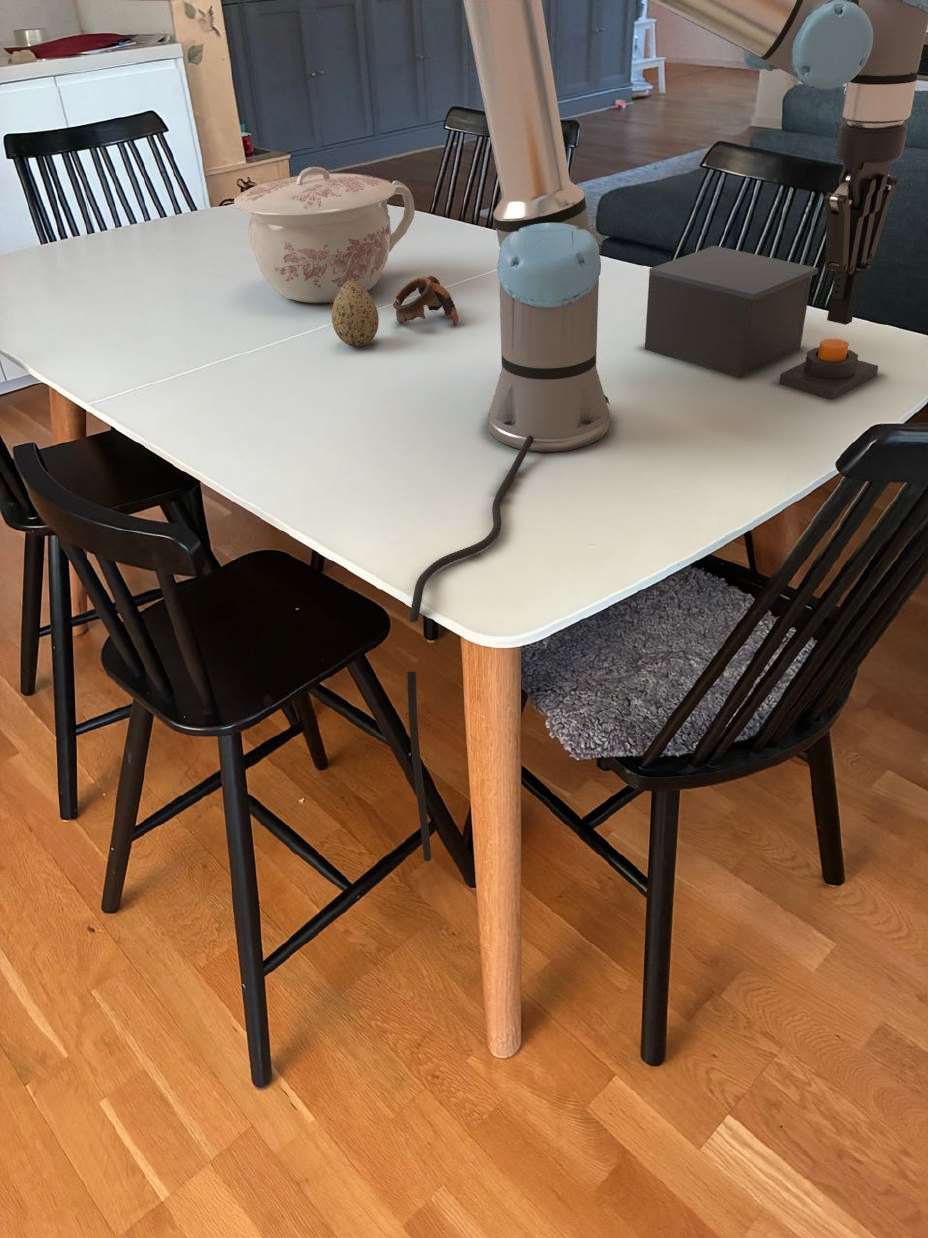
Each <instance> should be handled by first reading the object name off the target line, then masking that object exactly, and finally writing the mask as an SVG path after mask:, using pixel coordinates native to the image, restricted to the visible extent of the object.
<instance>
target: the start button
mask: <svg viewBox="0 0 928 1238" xmlns="http://www.w3.org/2000/svg"><path fill="white" fill-rule="evenodd" d="M849 346H850V345H849V342H847V341H846V340H843V339H840V338H825V339H822V340H821V341H820V342H819V352H818V358H819V359H822V360H826V361H844V360H846V356H847V351H848V350H849Z"/></svg>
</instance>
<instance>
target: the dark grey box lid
mask: <svg viewBox="0 0 928 1238" xmlns="http://www.w3.org/2000/svg"><path fill="white" fill-rule="evenodd" d="M648 270H649V271H648V275H650V274H651V275H655V276H659V277H663V278H667V279H671V280H675V281H679V282H683V283H687V284H691V285H695V286H699V287H703V288H707V289H711V290H715V291H719V292H723V293H727V294H731V295H735V296H739V297H742V298H746V299H750V300H755V299H758V298H760V297H763V296H765V295H767V294H770V293H772V292H775V291H777V290H779V289H782V288H784V287H787V286H789V285H791V284H794V283H796V282H799V281H801V280H803V279H806V278H808V277H811V276H812V277H813V276H815V275H818V273H819V267H815V266H811V265H807V264H801V263H797V262H792V261H786V260H783V259H778V258H775V257H768V256H764V255H760V254H756V253H750V252H746V251H741V250H737V249H732V248H727V247H722V246H719V245H711V246H709V247H706V248H704V249H701V250H698V251H695V252H692V253H689V254H687V255H684V256H681V257H678V258H675V259H673V260H669V261H667V262H664V263H661V264H659V265H656V266H653V267H650V268H649V269H648Z"/></svg>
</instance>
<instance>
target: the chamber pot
mask: <svg viewBox="0 0 928 1238" xmlns="http://www.w3.org/2000/svg"><path fill="white" fill-rule="evenodd" d="M395 195H401V196H402V199H403V205H404V209H403V216H402V218H401V220H400V222H399V223H398V225H397V227H396V229H395V230H394V231H393V232H392V226H391V225H392V224H391V216H390V215H389V208H388V200H389V199H390V198H391V197H393V196H395ZM233 203H234V205H235V207H236V208H237V209H238V210H241V211H243V212H245V213H248V214H251V218H250V220H249V223H248V226H247V235H248V240H249V245H250V248H251V250H252V253H253V256H254V259H255V261H256V264H257V267H258V269H259V271H260V273H261V274H262V275H263V276H264V278H265V279H266V280H267V282H268V283H269V284H270V285H271V286H272V287H273V288H274V290H275V291H276V292H277V293H278V294H280V295H281V296H283V297H285V298H287V299H288V300H294V301H297V302H302V303H305V304H306V303H307V304H331V303H334V300H335V298H336V296H337V294H338V292H339V290H340V289H341V288H342V286H343V285H344V284H345V283H346V282H348V281H356V282H357V283H359V284H360V285H361V286H362V287H364V288H365V289H366V291H367V292H369V291H370V290H371V289H372V288H373V287H374V286H376V284H377V283H378V281H379V279H380V277H381V275H382V272H383V270H384V268H385V266H386V264H387V261H388V259H389V256H390V253H391V251H392V250H393V248H394V247H395V245H396V244H397V243H398V242H399V241H400V240H402V238H403V237H404V236H405V235H406V233H407V231H408V229H409V228H410V226H411V224H412V222H413V221H414V218H415V211H416V210H415V209H416V207H415V200H414V195H413V194H412V192H411V190H410V188H409V187H408V186H407V185H406V184H404V183H402V182H401V181H398V180H393V181H392V182H390V181H389V180H388V179H384V178H381V177H378V176H372V175H369V174H361V173H352V172H351V173H350V172H349V173H347V172H346V173H345V172H329V171H328V170H327V169H325V168H324V167H319V166H310V167H307V168H304V169H302V170H301V171H300V173H299V175H293V176H288V177H283V178H277V179H274V180H269V181H266V182H263V183H259V184H257V185H255V186H252V187H251V188H248V189H246V190H244V191H242V192H240V193H238V195H237V196H236V197H235V198H234V200H233Z"/></svg>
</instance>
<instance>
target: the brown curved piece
mask: <svg viewBox="0 0 928 1238" xmlns="http://www.w3.org/2000/svg"><path fill="white" fill-rule="evenodd" d="M417 290H418V294H419V296H418V297H416V298H415V299H414V300H412V301H410V302H409V303H407V304H403V303H404V301H406V299H407V298H408V297H409V296H410V295H412V294H413V293H414V292H416V291H417ZM454 303H455V302H454V300H453V298H452V296H451V294H450V293H449V291H448V290H447V289H446V288H445V287H444V286H443V285H441V283H440V281H439V279H438V278H437V277H436V276H433V275H429V276H421V277H417V278H414V279H413V280H411V281H409V282H407V284H405V285H404V286H403V287H402V288H401V289H400V290H399V291H398V292H397V294H396V295H395V300H394V302H393V303H392V307H393V308H394V309H395V311H396V312H395V317H396V321H397V322H398V323H399V324H400V325H403V324H404V323H407V322H408V321H413V320H415V319H417V318H421V319H423V320H426V316H425V306H426V307H427V309H428V310H429V311H439V310H440V309H441V308H442V309H443V312H444V316H445V317H450V318H451V320H452V322H453V326H454V327H457V326H458V324H459V321H460V318H459V315H458V311H457V307H456V305H455V304H454Z"/></svg>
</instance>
